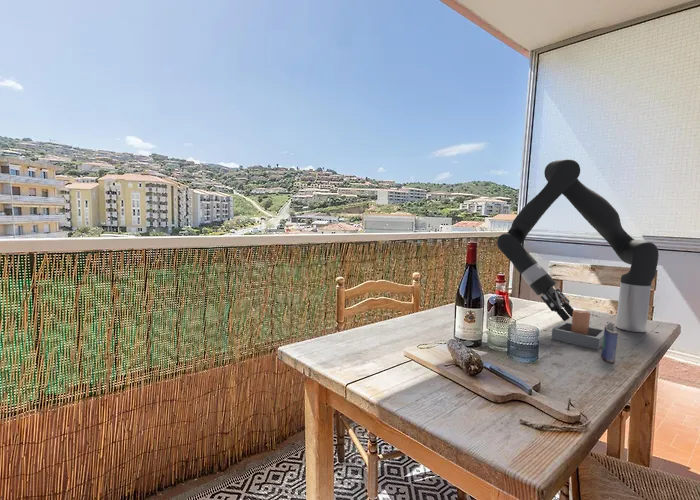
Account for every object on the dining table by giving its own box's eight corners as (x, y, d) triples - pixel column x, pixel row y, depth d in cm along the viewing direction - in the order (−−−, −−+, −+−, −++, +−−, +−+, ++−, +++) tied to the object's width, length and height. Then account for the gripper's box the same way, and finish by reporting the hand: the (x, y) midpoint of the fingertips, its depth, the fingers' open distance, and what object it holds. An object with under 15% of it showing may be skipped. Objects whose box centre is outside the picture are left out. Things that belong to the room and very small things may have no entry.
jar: (572, 334, 131) (574, 309, 130) (588, 338, 127) (591, 312, 127) (568, 337, 127) (571, 311, 126) (585, 341, 124) (588, 314, 123)
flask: (615, 364, 106) (619, 327, 105) (603, 362, 108) (606, 325, 107) (611, 354, 115) (614, 319, 114) (599, 352, 116) (603, 318, 115)
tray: (562, 330, 137) (563, 321, 136) (607, 340, 128) (608, 330, 127) (551, 338, 127) (552, 328, 127) (598, 349, 118) (599, 338, 118)
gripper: (540, 274, 128) (575, 315, 121) (552, 271, 138) (585, 308, 132) (522, 287, 132) (555, 327, 126) (536, 283, 143) (567, 319, 136)
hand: (570, 317), depth 129 cm, fingers open, 8 cm apart
